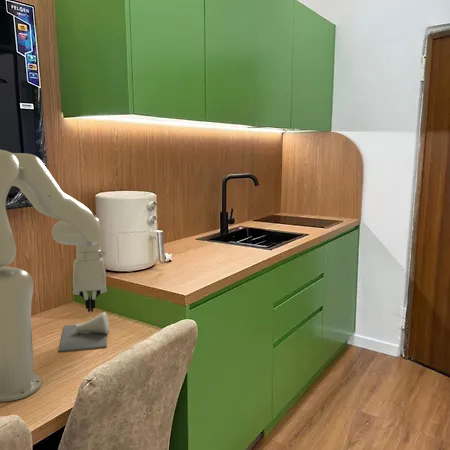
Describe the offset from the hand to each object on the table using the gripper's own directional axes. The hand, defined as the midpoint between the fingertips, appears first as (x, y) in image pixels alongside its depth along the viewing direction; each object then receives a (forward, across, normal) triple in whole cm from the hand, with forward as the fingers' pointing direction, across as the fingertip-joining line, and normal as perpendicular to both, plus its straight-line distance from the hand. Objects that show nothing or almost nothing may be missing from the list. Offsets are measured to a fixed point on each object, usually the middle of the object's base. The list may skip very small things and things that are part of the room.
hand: (90, 310), depth 140 cm
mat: (+9, +2, 0) cm, 9 cm away
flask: (+5, -5, -1) cm, 7 cm away
